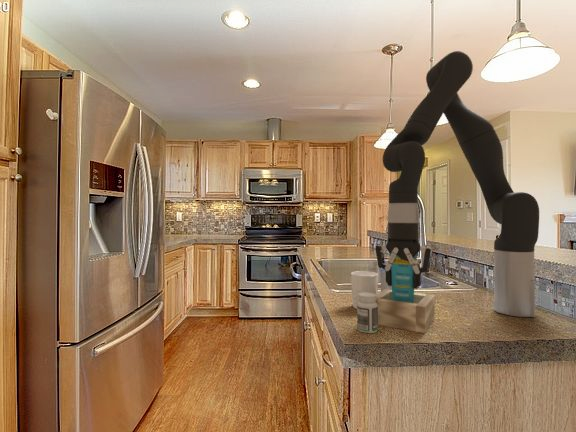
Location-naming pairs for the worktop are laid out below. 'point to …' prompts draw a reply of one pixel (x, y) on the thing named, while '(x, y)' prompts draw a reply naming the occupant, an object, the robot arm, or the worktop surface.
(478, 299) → the worktop surface
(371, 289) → the white cup
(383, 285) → the medicine box
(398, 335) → the worktop surface
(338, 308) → the worktop surface
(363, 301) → the pill bottle
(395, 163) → the robot arm
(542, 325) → the worktop surface
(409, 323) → the socket holder
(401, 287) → the tube
